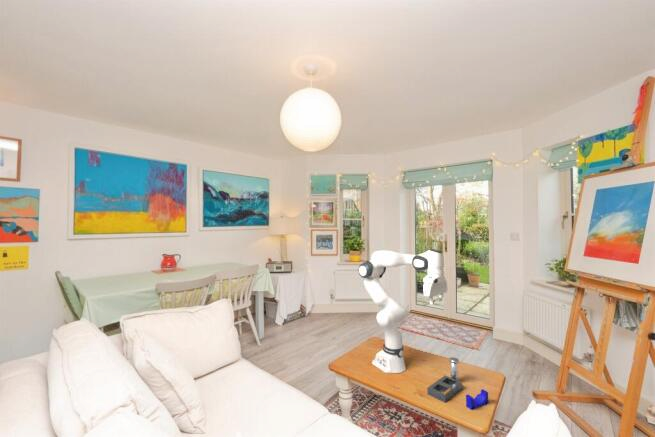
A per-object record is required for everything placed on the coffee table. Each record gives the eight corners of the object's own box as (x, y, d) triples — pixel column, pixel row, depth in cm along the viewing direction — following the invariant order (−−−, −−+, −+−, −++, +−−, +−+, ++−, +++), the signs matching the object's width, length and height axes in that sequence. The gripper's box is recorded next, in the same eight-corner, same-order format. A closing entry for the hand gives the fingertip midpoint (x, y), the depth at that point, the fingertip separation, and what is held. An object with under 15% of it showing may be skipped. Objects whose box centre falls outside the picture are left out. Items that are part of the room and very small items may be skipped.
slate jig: (427, 394, 158) (427, 387, 158) (445, 381, 170) (444, 375, 170) (445, 402, 150) (444, 395, 150) (462, 388, 162) (461, 381, 162)
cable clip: (480, 399, 152) (480, 387, 152) (488, 404, 148) (488, 392, 148) (463, 405, 148) (463, 393, 148) (471, 410, 143) (470, 398, 144)
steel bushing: (448, 381, 169) (447, 359, 169) (452, 378, 172) (451, 356, 173) (457, 385, 165) (456, 362, 166) (461, 382, 168) (460, 359, 169)
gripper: (439, 275, 174) (440, 298, 174) (421, 279, 161) (421, 304, 160) (450, 276, 169) (450, 300, 169) (431, 281, 156) (431, 307, 156)
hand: (436, 302), depth 165 cm, fingers open, 8 cm apart
